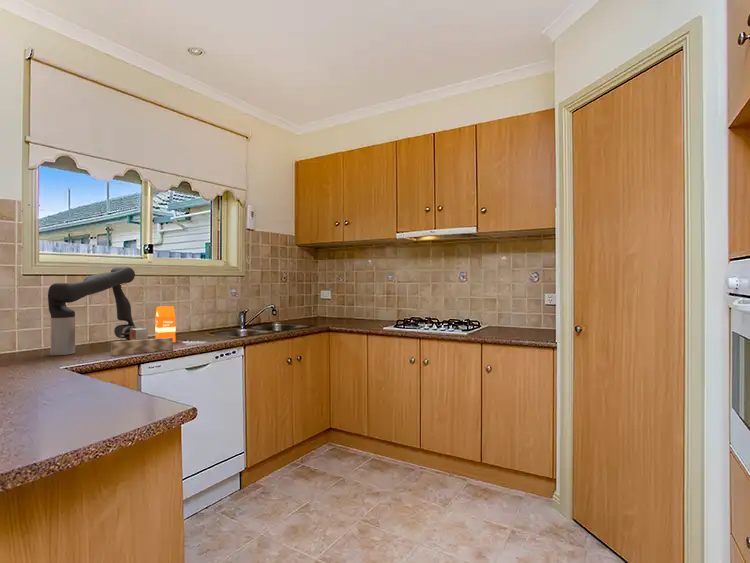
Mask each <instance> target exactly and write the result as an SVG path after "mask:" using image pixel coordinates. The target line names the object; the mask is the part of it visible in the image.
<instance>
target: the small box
mask: <svg viewBox="0 0 750 563" xmlns="http://www.w3.org/2000/svg"><path fill="white" fill-rule="evenodd" d="M148 333H149V332H148V328H144V327H136V328H134V329H130V341H131V340H143V339H149V338H148V336H149V335H148Z"/></svg>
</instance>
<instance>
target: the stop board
mask: <svg viewBox="0 0 750 563" xmlns="http://www.w3.org/2000/svg"><path fill="white" fill-rule="evenodd" d="M173 343H174V342H173V338H172V337H169V338H156V339H155V338H148V339H143V340H131V341H129V340H121V341H110V356H112V357H115V356H123V355H125V356H127V355H134V353H136V354H142V353H143V354H145V353H144V352H147V353H156V352H155V351H157V352H167V351H166V350H168V351H173V348H174V345H173Z"/></svg>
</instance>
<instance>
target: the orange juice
mask: <svg viewBox="0 0 750 563" xmlns="http://www.w3.org/2000/svg"><path fill="white" fill-rule="evenodd" d="M155 312H156V313H155V318H154V320H155V321H154V322H155V328H154V330H155V332H154V333H155V334H154V336H155V337H154V339H156V338H169V337H172V338H173V343H176V332H177V330H176V328H177V327H176V313H175V307H174V305H171V306H170V305H169V306H167V305H165V306H156V311H155Z"/></svg>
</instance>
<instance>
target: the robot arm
mask: <svg viewBox="0 0 750 563" xmlns="http://www.w3.org/2000/svg"><path fill="white" fill-rule="evenodd" d="M111 269H112V270H110V271H111V272H108V271H107V272H101V273H99V272H98V273H96V274H95V273H94V274H92V275H89V276H86V277H85V278H84V279H83V281H79V282H59V283H58V282H57V283H53V284H51V285H50V286H49V288H48V290H47V291H48V292H47V302H48V312H49V314H50V356H64V355H65V356H66V355H67V356H68V355H71V354H75V353H76V311H75V310H74V309H71V308H69V307H68V306H67V304H68V303H69V304H70V303H75V302H76V301H78V300H81V299H82V298H85V297H86V296H91V295H94V294H98V293H100V292H103V291H106V290H108V289H112V294H113V295H114V300H115V307H116V318H117V320H118V321H120V322H121V321H123V322H127V324H118V325H117V326H115V327H114V330H113V331H114V335H115V336H116V338H118V339H125V340H126V341H130V329H134V328H137V327H136V325H135V323H134V319H133V316H132V307H131V303H130V301H129V299H128V298H127V297H126V294H125V293H124V292H123V288H122V285H123V284H130V283H131V282H133V281H134V279H135V276H136V273H135V270H134V269H133V267H132V268H131V267H129V266H120V267H119V266H118V267H113V268H111ZM120 284H121V285H120ZM121 288H122V289H121Z"/></svg>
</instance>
